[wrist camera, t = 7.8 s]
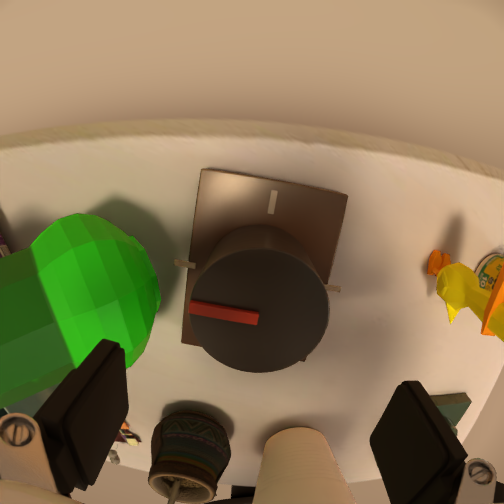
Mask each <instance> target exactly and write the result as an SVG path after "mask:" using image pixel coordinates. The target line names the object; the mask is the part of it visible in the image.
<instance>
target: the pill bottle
mask: <svg viewBox="0 0 504 504" xmlns="http://www.w3.org/2000/svg"><path fill="white" fill-rule="evenodd" d="M10 254H11V253H10V251H9V249H8V247H7V245H6V243H5V241H4V239H3V237H2V235H1V233H0V258H2V257H5V256H8V255H10Z"/></svg>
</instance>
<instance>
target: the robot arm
mask: <svg viewBox="0 0 504 504" xmlns="http://www.w3.org/2000/svg"><path fill="white" fill-rule="evenodd" d="M128 409H129V404H128V393H127V380H126V363H125V350H124V348H121V347H120V343H118V342H115V341H111V340H108V339H102V340H100V342H99V343H98V344H97V345H96V346H95V347H94V349H93V350H92V351H91V352H90V353H89V354H88V356H87V357H86V358H85V359H84V360H83V362H82V363H81V364H80V365H79V366H78V368H77V369H76V368H75V369H72V370H71V371H70V372H69V373H68V374H67V376H66V377H65V378H64V379H63V380H62V382H61V383H60V384H59V385H58V386H57V388H56V389H55V390H54V391H53V392H52V394H51V395H50V396H49V397H48V399H47V400H46V401H45V402H44V404H43V405H42V406H41V407H40V409H39V410H38V411H37V412H36V414H35V415H34V416H33V417H30V416H29V415H27V414H23V413H10V414H7V415H5V416H3V417H1V418H0V504H84V503H81V502H79V501H76V500H73V499H72V498H71V495H70V493H71V492H73V489H74V487H76V488H78V489H81V490H83V491H86V489H87V486H88V485H91V486H92V485H94V483H95V481H96V479H97V477H98V475H99V472H100V470H101V468H102V466H103V464H104V462H105V460H106V458H107V456H108V453H109V451H110V449H111V447H112V445H113V443H114V441H115V439H116V437H117V435H118V433H119V430H120V428H121V426H122V424H123V422H124V420H125V418H126V416H127V414H128ZM370 446H371V448H372V451H373V454H374V457H375V459H376V462H377V465H378V468H379V471H380V473H381V476H382V479H383V482H384V485H385V488H386V491H387V494H388V497H389V499H390V502H391V504H504V484H503V483H500V482H498V481H496V478H497V477H496V471H495V469H494V467H493V466H492V465H491V464H490V463H489V462H488V461H486V460H484V459H480V458H475V459H471V460H469V461H468V462H467V463H465V461H464V460H465V459H466V458H467V456H468V454H467V453H466V451H465V450H464V448H463V446H462V445H461V443H460V442H459V440H458V438H457V437H456V435H455V434H454V432H453V431H452V429H451V428H450V426H449V424H448V423H447V421H446V420H445V418H444V417H443V415H442V414H441V412H440V411H439V409H438V408H437V406H436V405H435V403H434V402H433V400H432V399H431V397H430V396H429V394H428V393H427V392H426V390H425V389H424V387H423V386H422V384H421V383H420V382H419V381H403V382H402V383H401V385H398V386H397V388H396V390H395V392H394V394H393V396H392V398H391V400H390V402H389V404H388V405H387V407H386V409H385V411H384V413H383V415H382V417H381V418H380V420H379V422H378V424H377V425H376V427H375V429H374V431H373V432H372V434H371V436H370Z"/></svg>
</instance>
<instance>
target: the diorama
mask: <svg viewBox="0 0 504 504" xmlns="http://www.w3.org/2000/svg"><path fill="white" fill-rule="evenodd" d="M125 429H129V427H128V426H127V424H126V423H125V422H123V424H122V426H121V428H120V430H119V433H118V435H117V437H116V439H115V441H117V442H127V443H129V445H138V444H139V443H138V442H141V441H140V440H139V439H137V438H136V437H135V436H133V435H132V434H131V433H129V432H128V431H127V430H125ZM117 445H118V444H117ZM116 449H117V448H116ZM108 456H109V457H110V460H111V463H113V464H116V465H117V464H119V463H120V459H119V457H118V455H117V452H116V450H110V451H109V453H108Z"/></svg>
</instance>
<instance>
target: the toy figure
mask: <svg viewBox="0 0 504 504" xmlns="http://www.w3.org/2000/svg"><path fill="white" fill-rule="evenodd" d="M440 252H441V251H437V250H434V251H433V253H432V254H431V256H430V259H429V263H428V271H427V274H429V275H434V274H435V276H436V277H437V287H436V290H437V294H438V295H439V296H440V297H441V298H442V299H443V300H444V301H445V302H446V307H447V311H448V316H449V321H450V324H451V323H452V321H453V320H454V318H455V316H456V315H457V313H458V312H459V310H460V309H461V308H465V307H469V308H470V309H471V310H472V311H473V312H474V313H475V315H476V316H477V317H478V318H479V319H480V320H481V321H482V322H483V323H482V329H481V334H482V335H490V336H495V335H496V336H497V337H498V338H500V339H501V340H502V341H503V342H504V263H503V265H502V268H501V270H500V273H499V276H498V278H497V281H496V283H495V286H494V288H493V291H492V292H490V291H488V290H485V289H483V288H480V286H479V278H478V277H477V275H476V274H475V273H474V272H473V271H472V269H470V268H469V267H467V266H465V265H463V264H461V263H460V262H458V263H454V264H451V261H450V255H449V254H446V253H443V255H442V256H441V253H440Z"/></svg>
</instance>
